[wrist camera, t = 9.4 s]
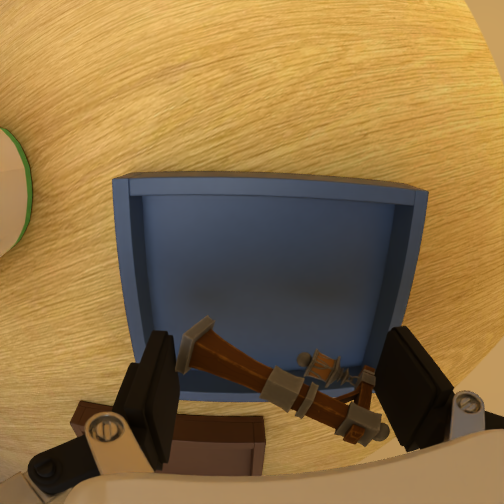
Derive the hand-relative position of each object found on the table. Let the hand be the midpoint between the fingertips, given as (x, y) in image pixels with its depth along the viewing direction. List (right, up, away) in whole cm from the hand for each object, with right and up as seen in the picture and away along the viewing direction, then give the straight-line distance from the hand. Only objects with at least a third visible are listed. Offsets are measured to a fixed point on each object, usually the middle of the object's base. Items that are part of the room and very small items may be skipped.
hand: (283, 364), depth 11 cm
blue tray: (0, +2, +6) cm, 7 cm away
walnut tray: (-8, -14, +11) cm, 20 cm away
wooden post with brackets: (0, 0, +1) cm, 1 cm away
